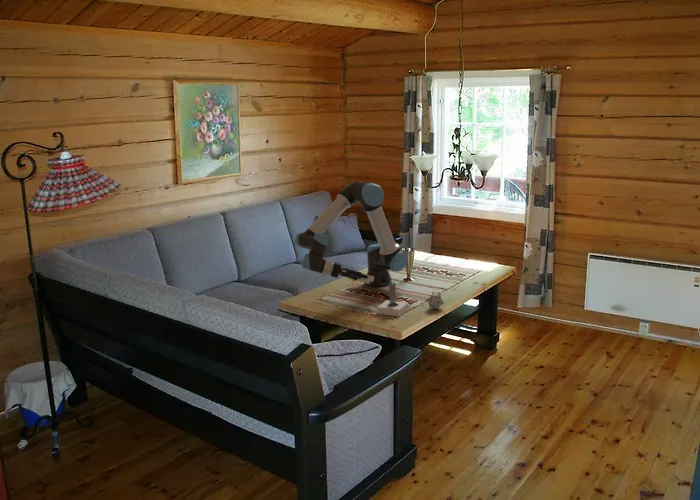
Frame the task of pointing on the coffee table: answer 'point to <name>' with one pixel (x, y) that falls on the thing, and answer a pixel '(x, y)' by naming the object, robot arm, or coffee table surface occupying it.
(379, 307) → the socket block
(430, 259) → the coffee table surface
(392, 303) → the pin
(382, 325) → the coffee table surface
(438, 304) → the game die
